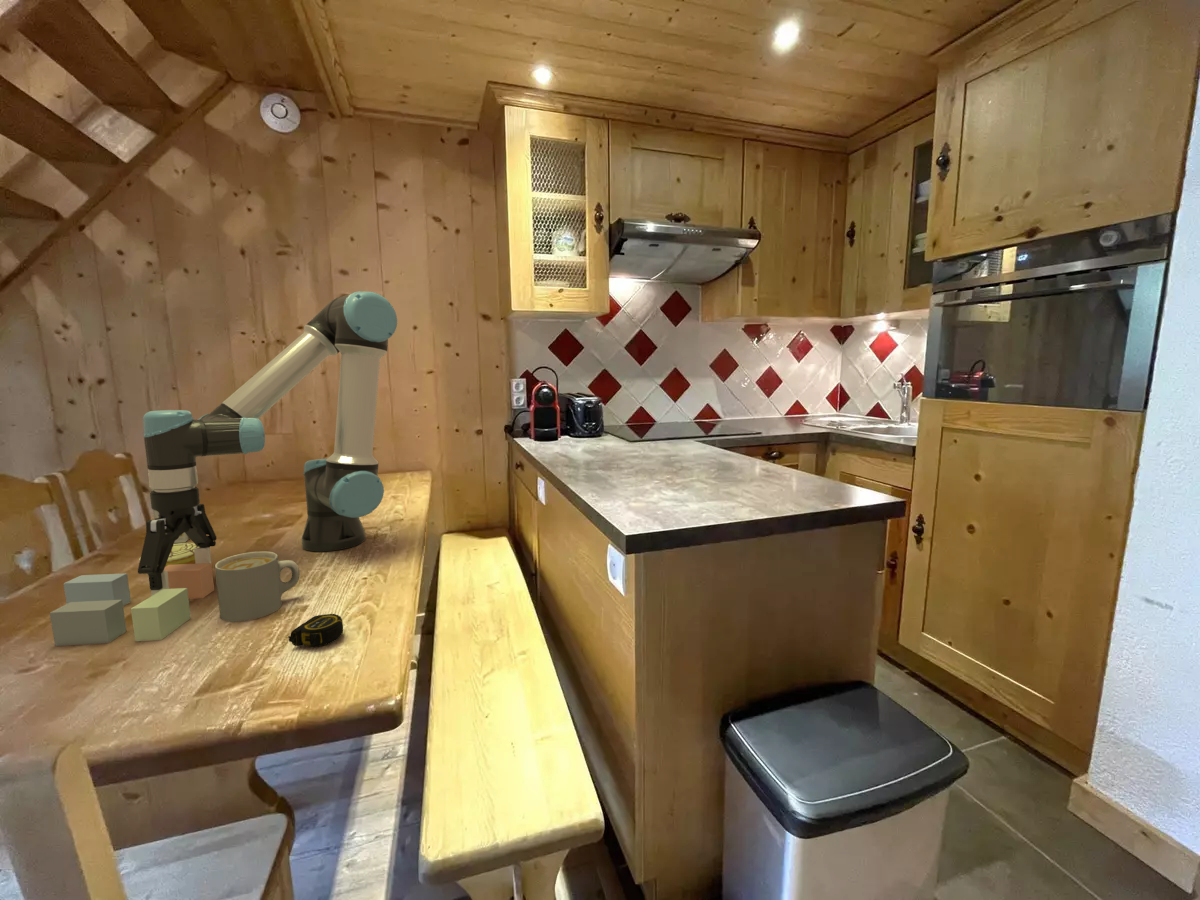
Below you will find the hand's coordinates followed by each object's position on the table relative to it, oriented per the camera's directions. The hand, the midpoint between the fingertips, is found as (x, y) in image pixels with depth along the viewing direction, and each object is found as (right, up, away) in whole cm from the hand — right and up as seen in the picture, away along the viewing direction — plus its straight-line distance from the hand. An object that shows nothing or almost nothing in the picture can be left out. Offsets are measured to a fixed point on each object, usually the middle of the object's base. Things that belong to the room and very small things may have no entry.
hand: (184, 589), depth 106 cm
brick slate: (-2, -4, -17) cm, 18 cm away
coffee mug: (+19, -2, -5) cm, 20 cm away
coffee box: (-30, +4, +35) cm, 46 cm away
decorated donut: (-16, +1, +17) cm, 24 cm away
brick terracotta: (0, -1, 0) cm, 1 cm away
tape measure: (+36, -5, -17) cm, 41 cm away
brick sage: (+7, -3, -14) cm, 16 cm away
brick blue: (-12, -2, -5) cm, 13 cm away
